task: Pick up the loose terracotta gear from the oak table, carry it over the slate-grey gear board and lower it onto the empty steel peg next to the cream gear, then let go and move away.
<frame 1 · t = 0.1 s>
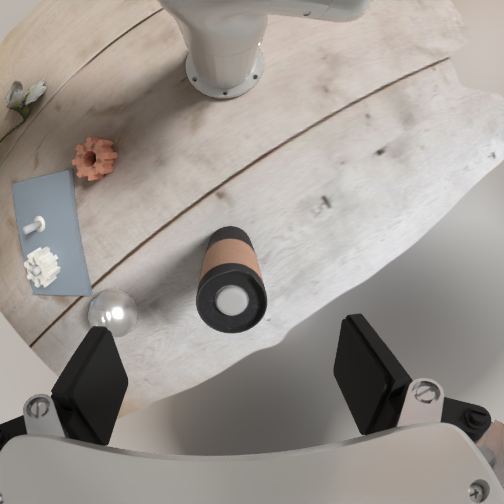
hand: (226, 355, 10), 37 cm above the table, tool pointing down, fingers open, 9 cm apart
cream gear: (42, 267, 41), point 4 cm above the table, hinge at 0.0°
terracotta gear: (99, 158, 40), on the table
gear board: (49, 236, 43), on the table
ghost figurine: (121, 300, 49), on the table
artificial flower: (16, 122, 35), on the table
travel mug: (230, 245, 47), on the table
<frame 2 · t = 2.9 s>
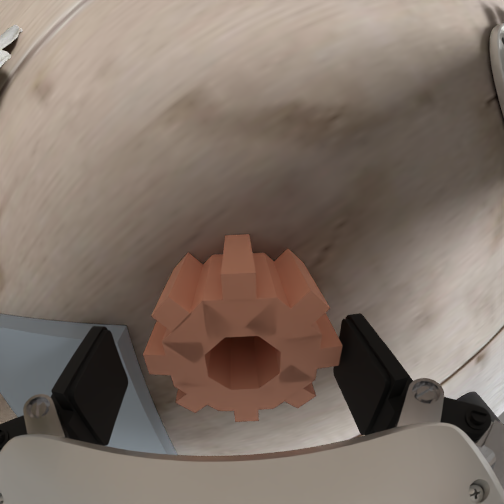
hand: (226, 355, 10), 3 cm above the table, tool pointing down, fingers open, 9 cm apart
terracotta gear: (240, 307, 13), on the table
gear board: (87, 431, 17), on the table
travel mug: (452, 413, 20), on the table
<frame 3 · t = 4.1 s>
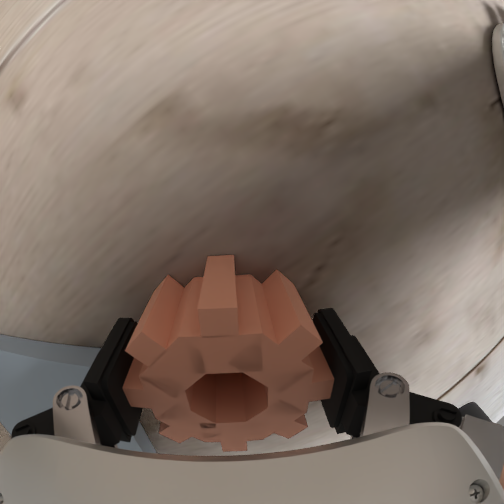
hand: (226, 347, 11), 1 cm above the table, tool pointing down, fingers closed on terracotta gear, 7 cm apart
terracotta gear: (226, 332, 12), on the table, touching gripper
gear board: (77, 447, 15), on the table
travel mug: (450, 424, 19), on the table
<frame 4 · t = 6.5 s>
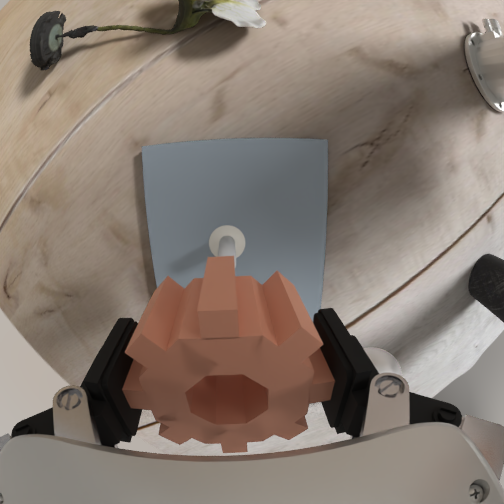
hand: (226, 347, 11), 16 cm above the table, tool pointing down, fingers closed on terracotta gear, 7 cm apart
terracotta gear: (226, 333, 12), point 15 cm above the table, touching gripper
gear board: (239, 267, 27), on the table
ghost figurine: (352, 359, 33), on the table
artificial flower: (151, 20, 18), on the table
travel mug: (481, 275, 31), on the table
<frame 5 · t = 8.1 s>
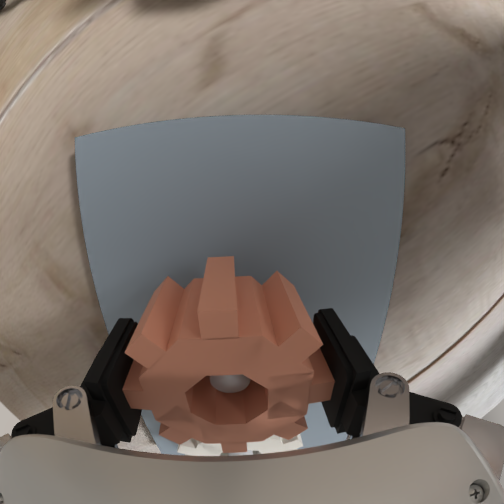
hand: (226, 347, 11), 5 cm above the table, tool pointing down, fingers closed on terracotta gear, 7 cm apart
cream gear: (239, 433, 14), point 4 cm above the table, hinge at 0.0°
terracotta gear: (226, 333, 12), point 3 cm above the table, touching gripper
gear board: (249, 337, 16), on the table
when the fingers open (3 cm above the table, at t = 9.2 s): terracotta gear stays where it is, resting on gear board.
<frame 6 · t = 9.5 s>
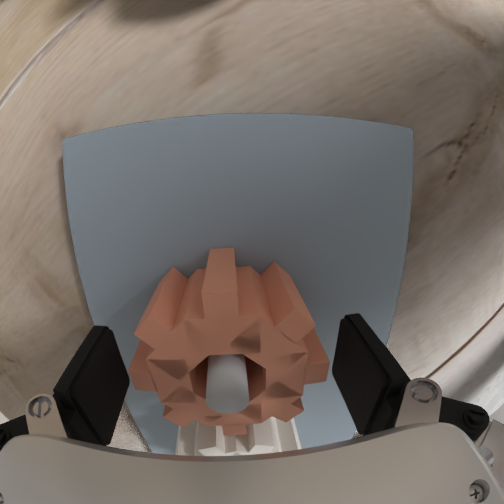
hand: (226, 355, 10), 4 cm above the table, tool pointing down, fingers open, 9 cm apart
cream gear: (238, 446, 13), point 4 cm above the table, hinge at 0.0°
terracotta gear: (227, 321, 13), point 2 cm above the table, touching gear board
gear board: (247, 349, 15), on the table
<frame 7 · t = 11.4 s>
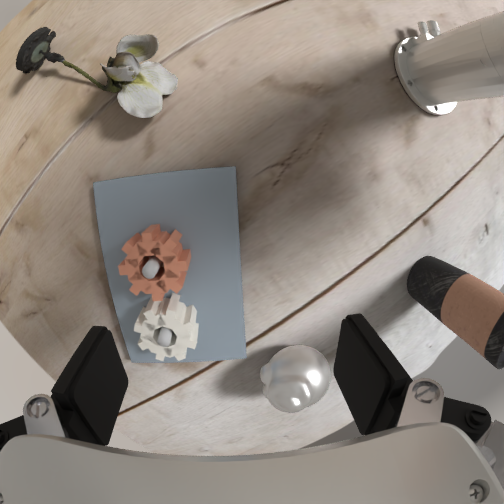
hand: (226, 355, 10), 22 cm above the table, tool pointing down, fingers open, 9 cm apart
cream gear: (167, 327, 30), point 4 cm above the table, hinge at 0.0°
terracotta gear: (159, 255, 30), point 2 cm above the table, touching gear board
gear board: (173, 275, 32), on the table
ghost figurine: (287, 356, 38), on the table
artificial flower: (101, 68, 24), on the table
travel mug: (423, 277, 37), on the table
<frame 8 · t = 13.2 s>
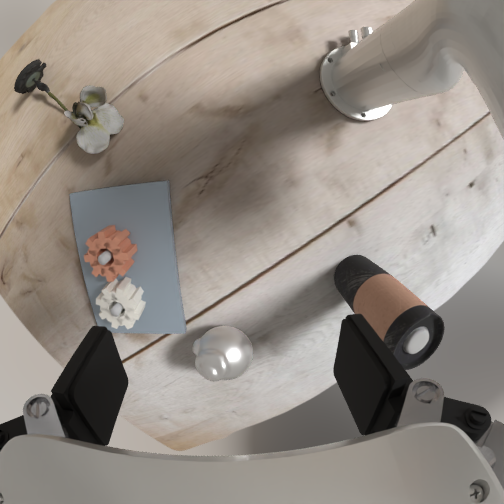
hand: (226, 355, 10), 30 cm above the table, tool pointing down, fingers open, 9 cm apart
cream gear: (121, 303, 38), point 4 cm above the table, hinge at 0.0°
terracotta gear: (115, 248, 37), point 2 cm above the table, touching gear board
gear board: (127, 263, 40), on the table
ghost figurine: (223, 335, 46), on the table
artificial flower: (75, 101, 31), on the table
travel mug: (353, 274, 44), on the table
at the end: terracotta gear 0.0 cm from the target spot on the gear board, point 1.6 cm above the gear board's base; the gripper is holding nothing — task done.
